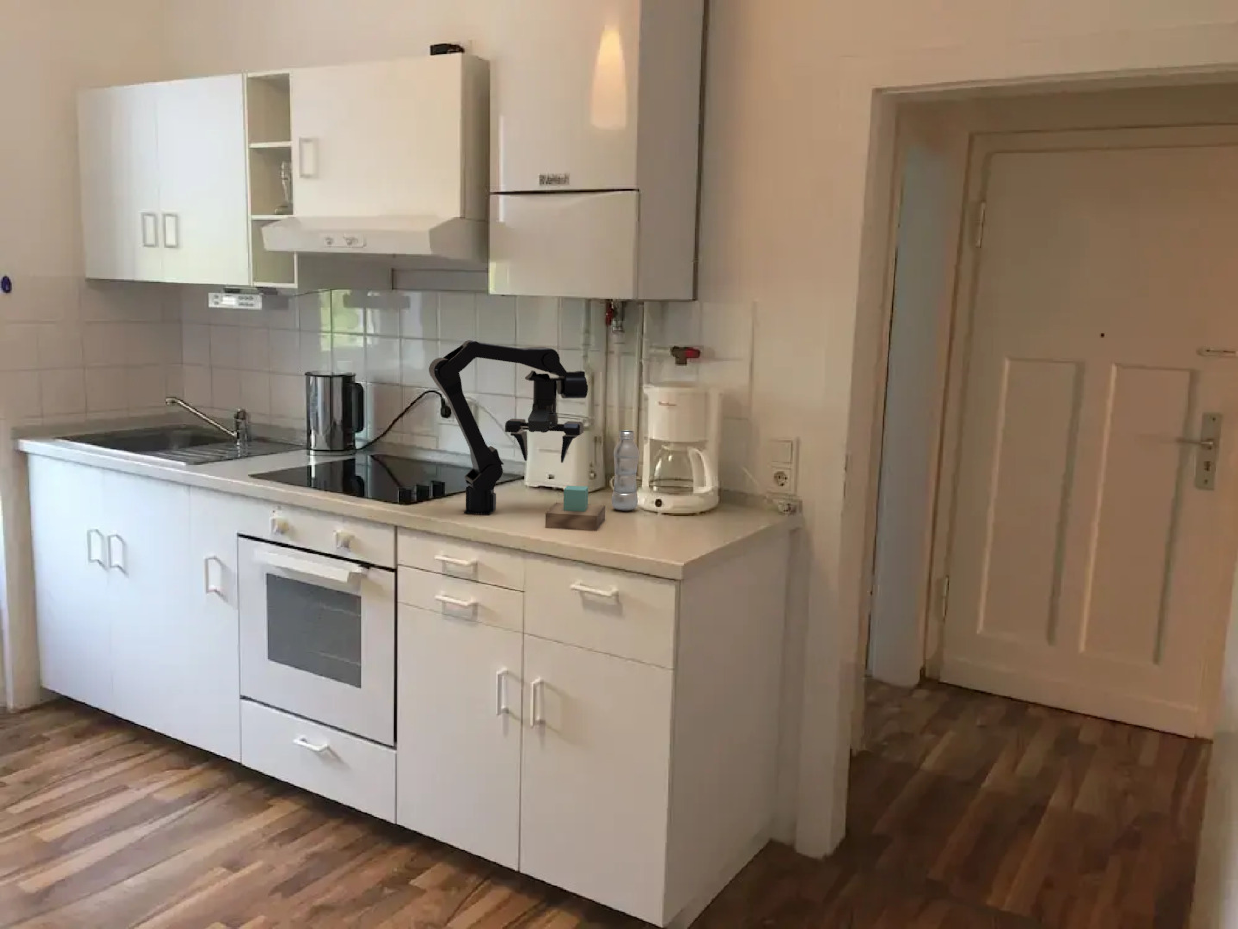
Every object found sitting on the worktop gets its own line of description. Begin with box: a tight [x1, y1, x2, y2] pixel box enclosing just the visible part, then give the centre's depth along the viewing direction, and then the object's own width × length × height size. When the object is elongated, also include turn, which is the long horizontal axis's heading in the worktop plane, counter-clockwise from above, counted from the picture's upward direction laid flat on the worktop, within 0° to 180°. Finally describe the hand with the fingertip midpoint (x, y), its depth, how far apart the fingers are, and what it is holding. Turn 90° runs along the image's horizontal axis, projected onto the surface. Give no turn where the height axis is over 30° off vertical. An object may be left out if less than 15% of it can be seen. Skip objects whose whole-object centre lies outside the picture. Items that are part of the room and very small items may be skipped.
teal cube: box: [563, 485, 589, 512], centre depth 245 cm, size 5×5×5 cm
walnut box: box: [544, 502, 606, 532], centre depth 246 cm, size 12×12×4 cm
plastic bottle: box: [611, 429, 640, 512], centre depth 261 cm, size 6×7×20 cm
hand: (543, 461), depth 259 cm, fingers open, 9 cm apart
